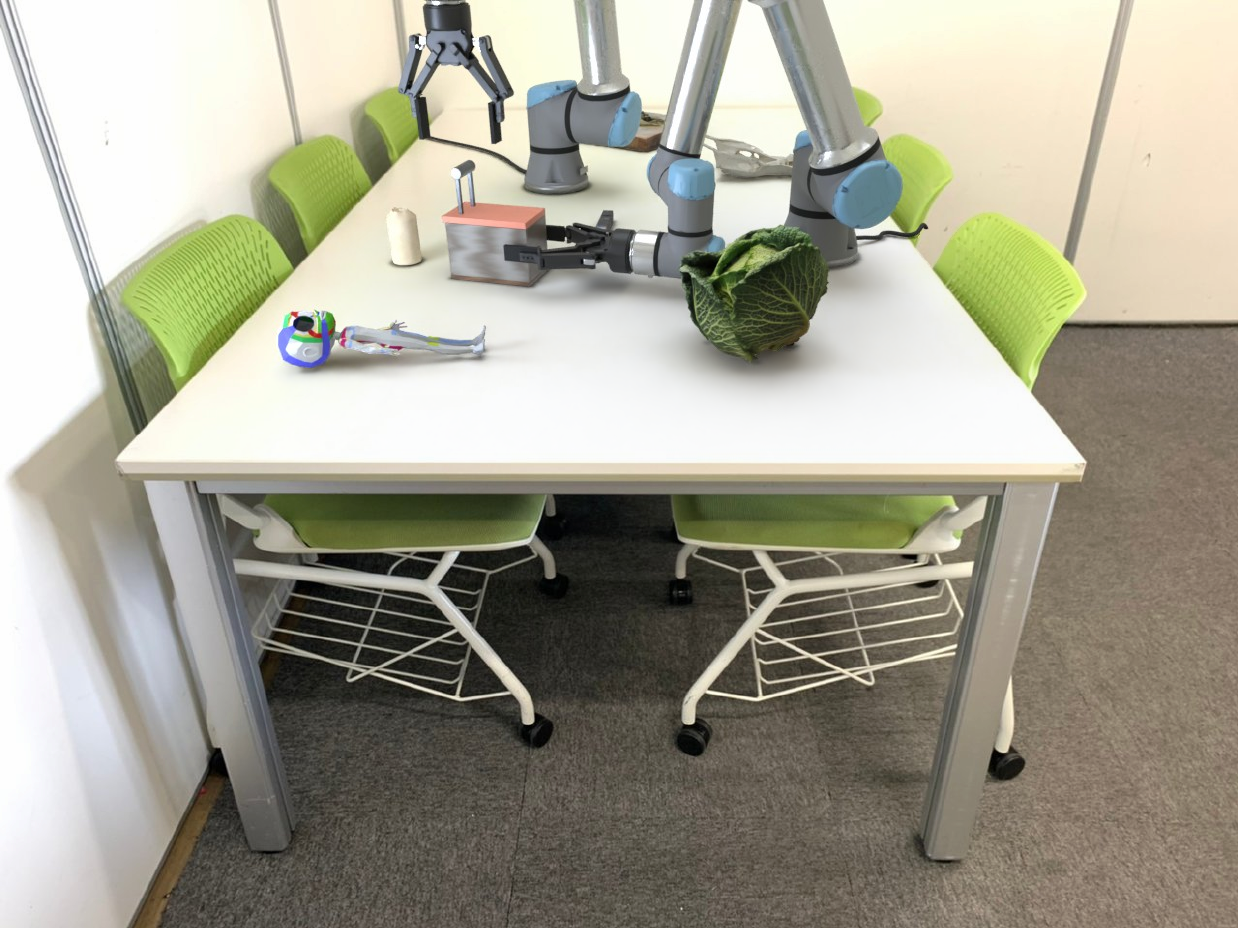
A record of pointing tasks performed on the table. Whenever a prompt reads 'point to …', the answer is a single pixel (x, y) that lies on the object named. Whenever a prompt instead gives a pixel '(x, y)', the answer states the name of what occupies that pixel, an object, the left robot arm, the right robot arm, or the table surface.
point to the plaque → (648, 132)
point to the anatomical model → (747, 159)
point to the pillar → (605, 220)
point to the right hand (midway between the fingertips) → (518, 241)
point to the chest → (493, 252)
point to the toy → (356, 339)
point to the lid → (487, 207)
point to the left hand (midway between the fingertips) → (460, 140)
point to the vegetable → (755, 290)
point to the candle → (403, 236)
